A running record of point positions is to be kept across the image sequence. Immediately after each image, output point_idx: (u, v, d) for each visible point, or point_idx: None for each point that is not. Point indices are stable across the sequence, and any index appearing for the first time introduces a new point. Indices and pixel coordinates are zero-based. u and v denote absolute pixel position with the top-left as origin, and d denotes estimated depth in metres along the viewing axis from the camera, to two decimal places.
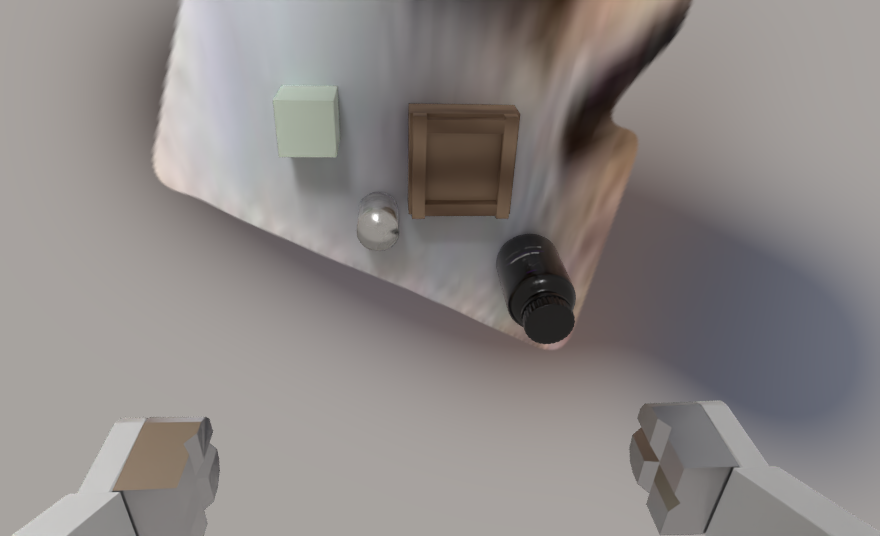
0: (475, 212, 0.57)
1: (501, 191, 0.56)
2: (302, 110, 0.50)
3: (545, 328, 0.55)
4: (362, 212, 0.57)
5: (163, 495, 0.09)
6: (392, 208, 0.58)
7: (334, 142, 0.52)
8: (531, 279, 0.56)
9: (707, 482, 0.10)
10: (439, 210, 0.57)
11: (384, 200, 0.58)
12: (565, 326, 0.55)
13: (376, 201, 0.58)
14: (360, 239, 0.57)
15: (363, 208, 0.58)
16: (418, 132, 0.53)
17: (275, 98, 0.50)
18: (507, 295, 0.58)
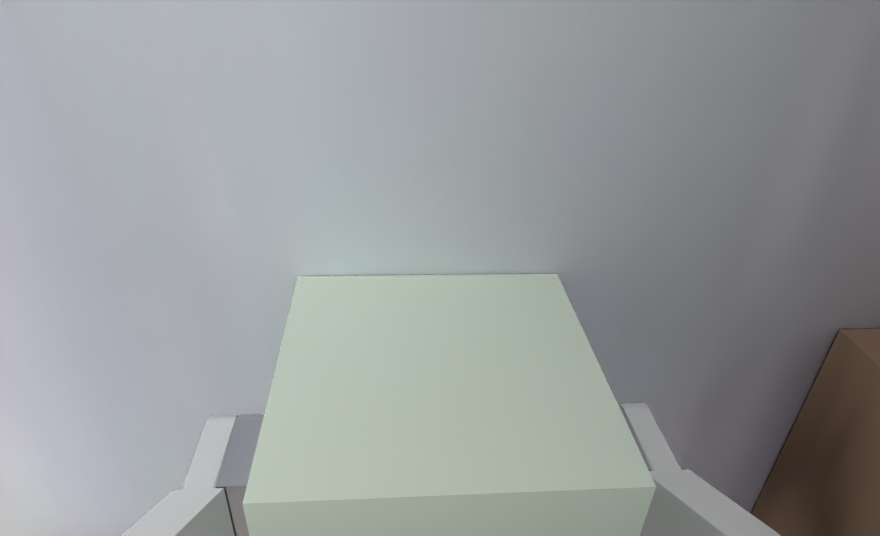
0: None
1: None
2: None
3: None
4: None
5: None
6: None
7: None
8: None
9: None
10: None
11: None
12: None
13: None
14: None
15: None
16: None
17: (263, 469, 0.07)
18: None
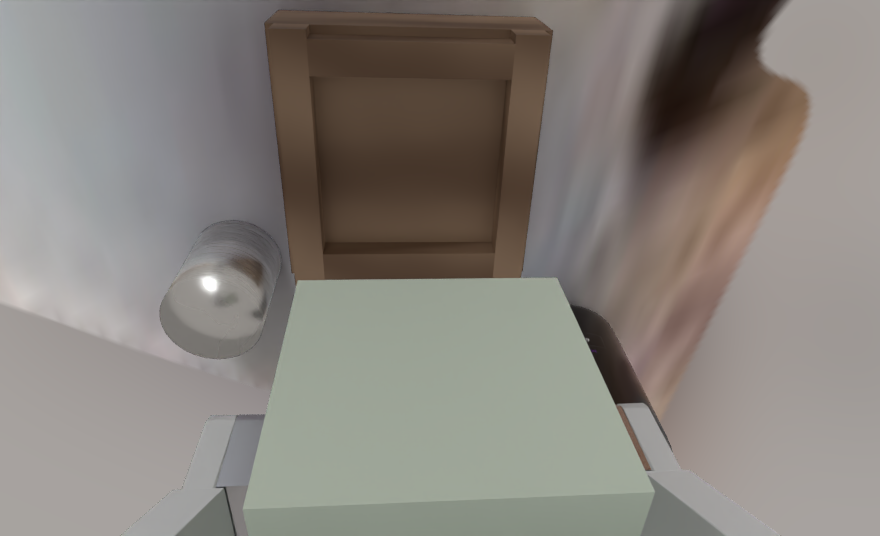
0: (443, 271, 0.25)
1: (504, 223, 0.24)
2: None
3: None
4: (179, 271, 0.24)
5: None
6: (254, 259, 0.25)
7: None
8: None
9: None
10: (357, 268, 0.24)
11: (239, 241, 0.26)
12: None
13: (217, 243, 0.25)
14: (172, 335, 0.24)
15: (186, 260, 0.25)
16: (287, 74, 0.20)
17: (263, 475, 0.07)
18: None
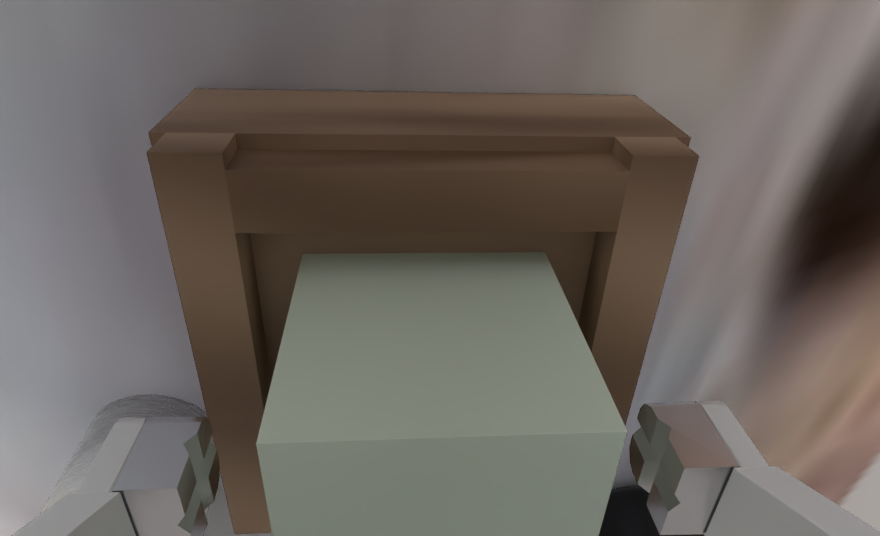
0: None
1: None
2: (433, 479, 0.08)
3: None
4: (43, 509, 0.15)
5: (163, 494, 0.09)
6: None
7: None
8: None
9: (707, 482, 0.10)
10: None
11: None
12: None
13: None
14: None
15: (60, 482, 0.15)
16: (192, 230, 0.10)
17: (274, 416, 0.08)
18: None
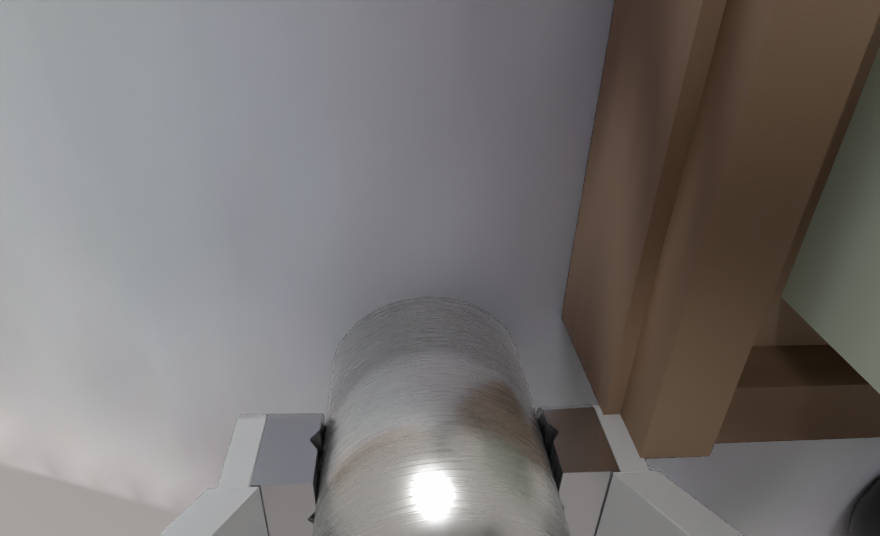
0: None
1: None
2: None
3: None
4: (344, 457, 0.09)
5: (298, 489, 0.09)
6: (520, 411, 0.10)
7: None
8: None
9: (589, 487, 0.10)
10: (805, 416, 0.10)
11: (474, 360, 0.10)
12: None
13: (427, 369, 0.10)
14: None
15: (351, 418, 0.10)
16: None
17: None
18: None
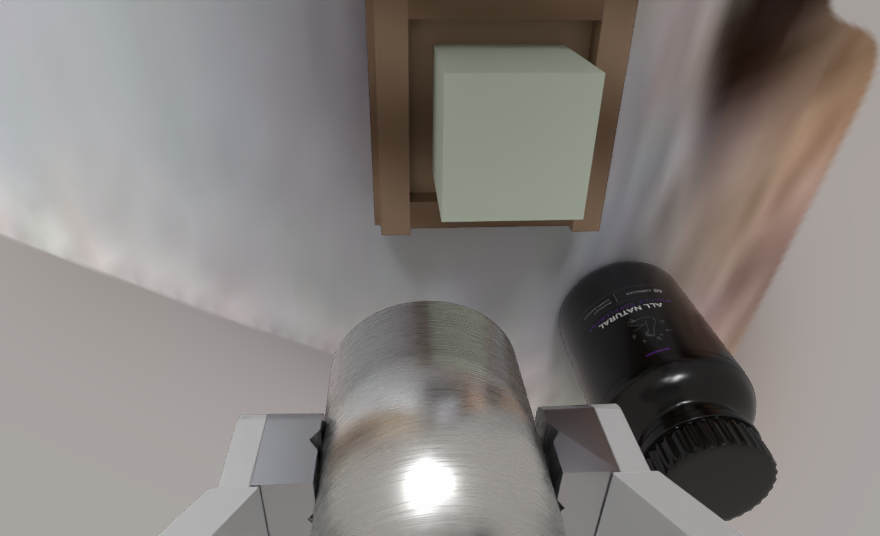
0: None
1: None
2: (518, 100, 0.19)
3: (704, 495, 0.23)
4: (342, 462, 0.09)
5: (298, 489, 0.09)
6: (518, 416, 0.10)
7: (585, 183, 0.20)
8: (661, 374, 0.24)
9: (589, 487, 0.10)
10: None
11: (472, 364, 0.10)
12: (752, 490, 0.23)
13: (424, 374, 0.10)
14: None
15: (349, 422, 0.10)
16: (386, 17, 0.21)
17: (448, 69, 0.18)
18: None
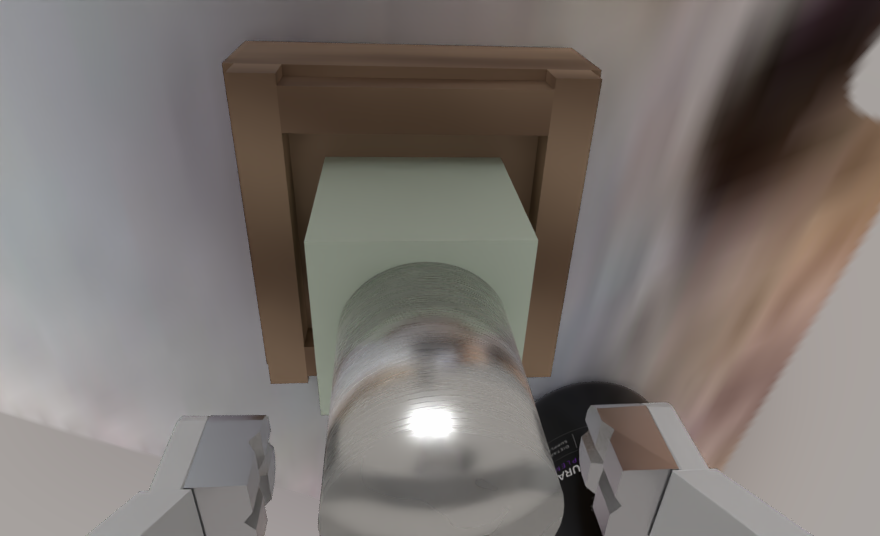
0: None
1: (533, 308, 0.19)
2: None
3: None
4: (352, 393, 0.10)
5: (233, 491, 0.09)
6: (508, 356, 0.11)
7: None
8: None
9: (647, 484, 0.10)
10: None
11: (466, 312, 0.11)
12: None
13: (424, 319, 0.11)
14: None
15: (357, 361, 0.11)
16: (252, 130, 0.15)
17: (313, 231, 0.13)
18: None
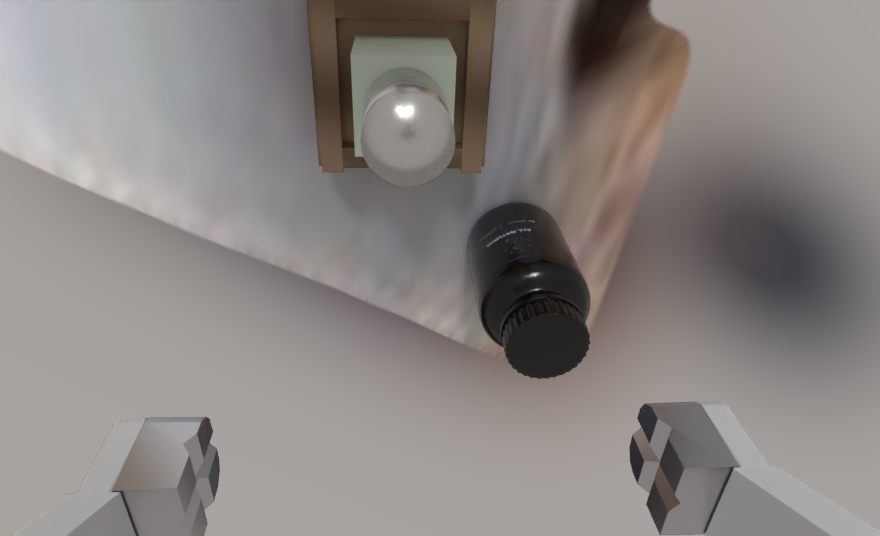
0: None
1: (468, 126, 0.34)
2: None
3: (540, 353, 0.33)
4: (372, 100, 0.26)
5: (163, 494, 0.09)
6: (437, 93, 0.26)
7: None
8: (517, 272, 0.34)
9: (707, 482, 0.10)
10: None
11: (420, 78, 0.27)
12: (574, 350, 0.33)
13: (402, 77, 0.26)
14: (369, 159, 0.25)
15: (374, 94, 0.26)
16: (320, 16, 0.30)
17: (354, 52, 0.28)
18: (479, 298, 0.36)
